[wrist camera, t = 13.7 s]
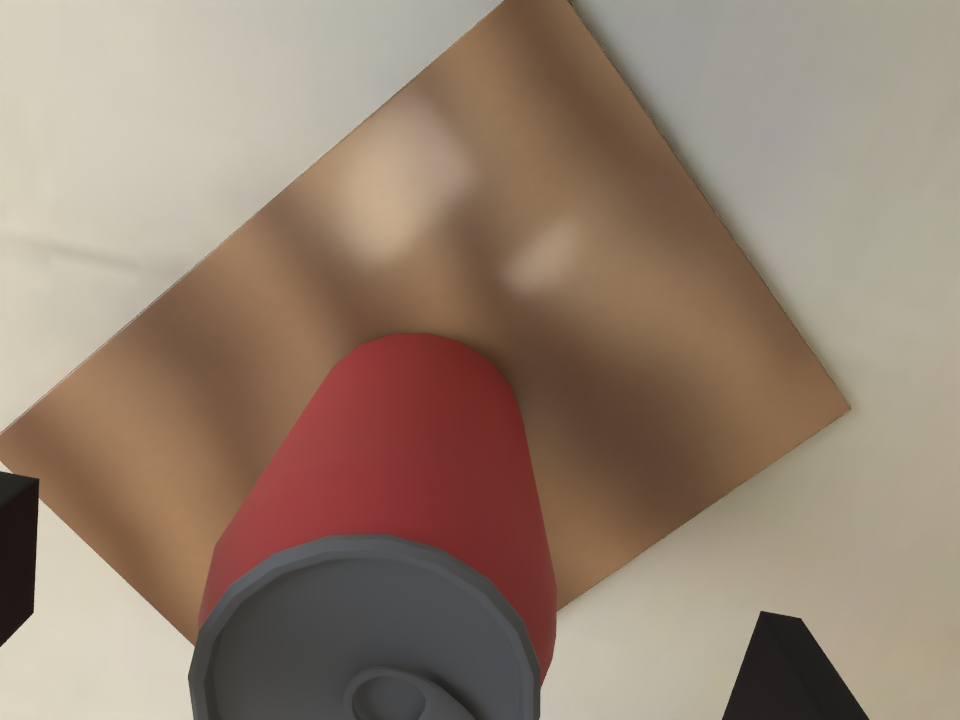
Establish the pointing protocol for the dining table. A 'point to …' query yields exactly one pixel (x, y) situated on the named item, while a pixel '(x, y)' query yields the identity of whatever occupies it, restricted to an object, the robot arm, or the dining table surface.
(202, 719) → the beer can
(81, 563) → the dining table surface
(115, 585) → the dining table surface
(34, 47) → the dining table surface
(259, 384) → the wooden cutting board
